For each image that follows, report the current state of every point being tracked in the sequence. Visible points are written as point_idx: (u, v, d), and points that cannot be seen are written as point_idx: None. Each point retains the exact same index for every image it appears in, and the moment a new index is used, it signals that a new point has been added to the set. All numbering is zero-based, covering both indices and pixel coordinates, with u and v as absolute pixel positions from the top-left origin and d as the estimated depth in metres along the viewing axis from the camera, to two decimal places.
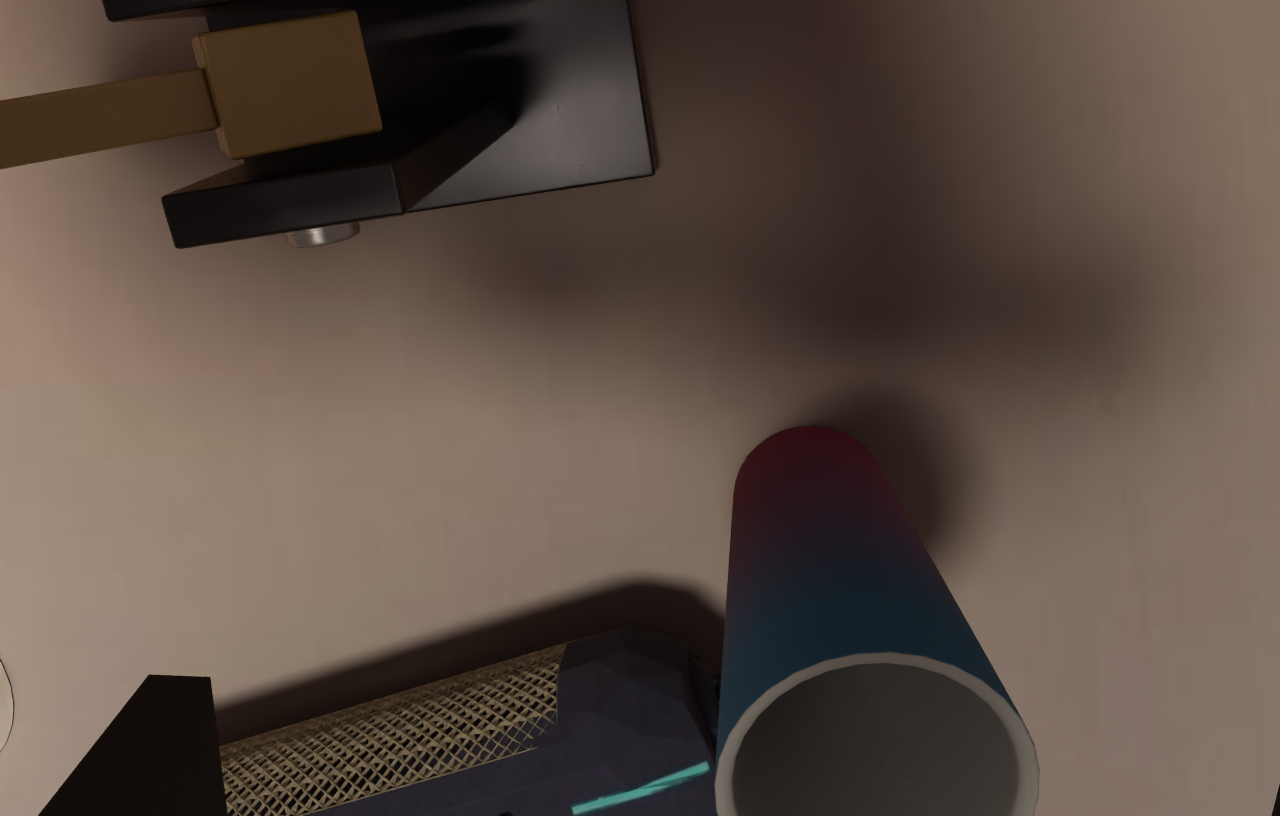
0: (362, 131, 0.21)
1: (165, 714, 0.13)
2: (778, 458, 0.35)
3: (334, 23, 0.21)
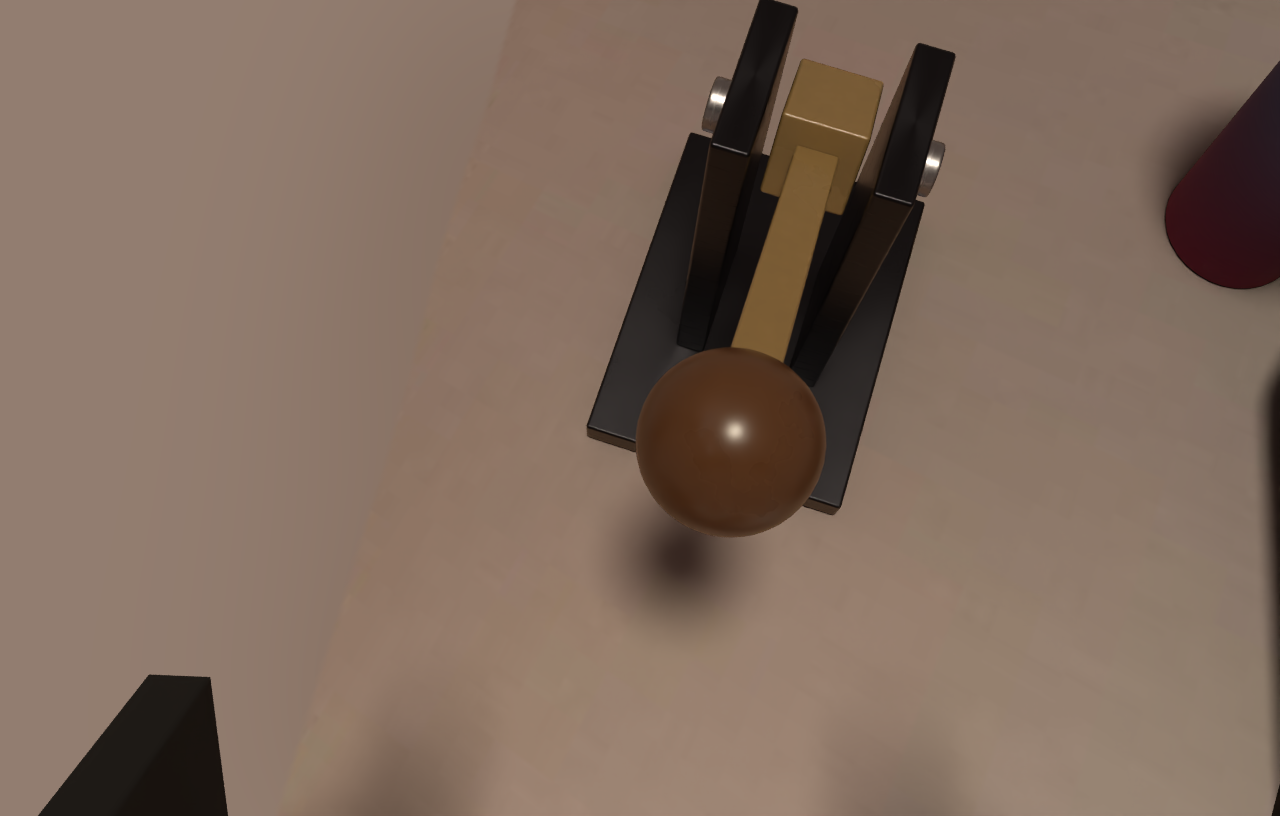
0: (880, 87, 0.29)
1: (165, 715, 0.13)
2: (1192, 199, 0.41)
3: (806, 66, 0.29)
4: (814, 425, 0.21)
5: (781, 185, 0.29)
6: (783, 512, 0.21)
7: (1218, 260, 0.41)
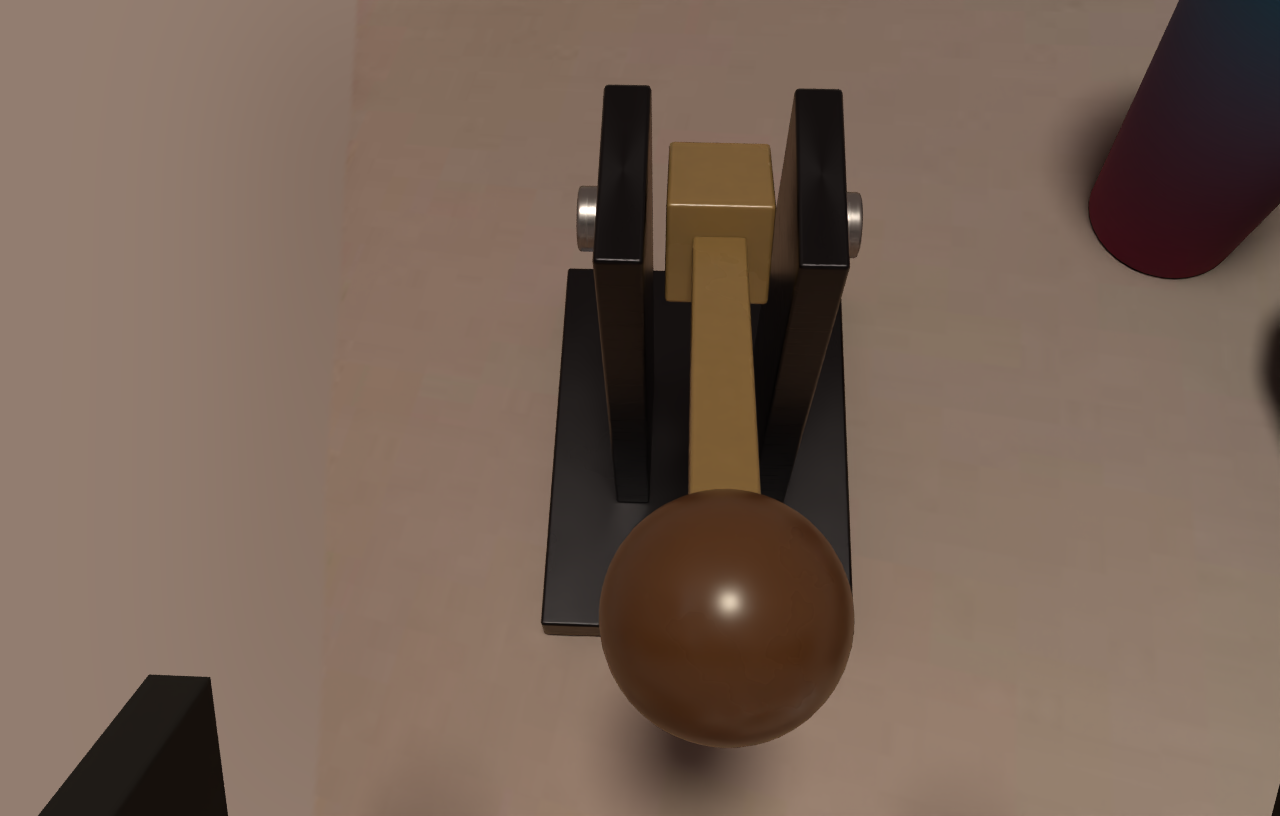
0: (767, 150, 0.25)
1: (166, 715, 0.13)
2: (1116, 197, 0.38)
3: (678, 150, 0.25)
4: (828, 565, 0.16)
5: (688, 288, 0.24)
6: (823, 692, 0.15)
7: (1164, 252, 0.38)
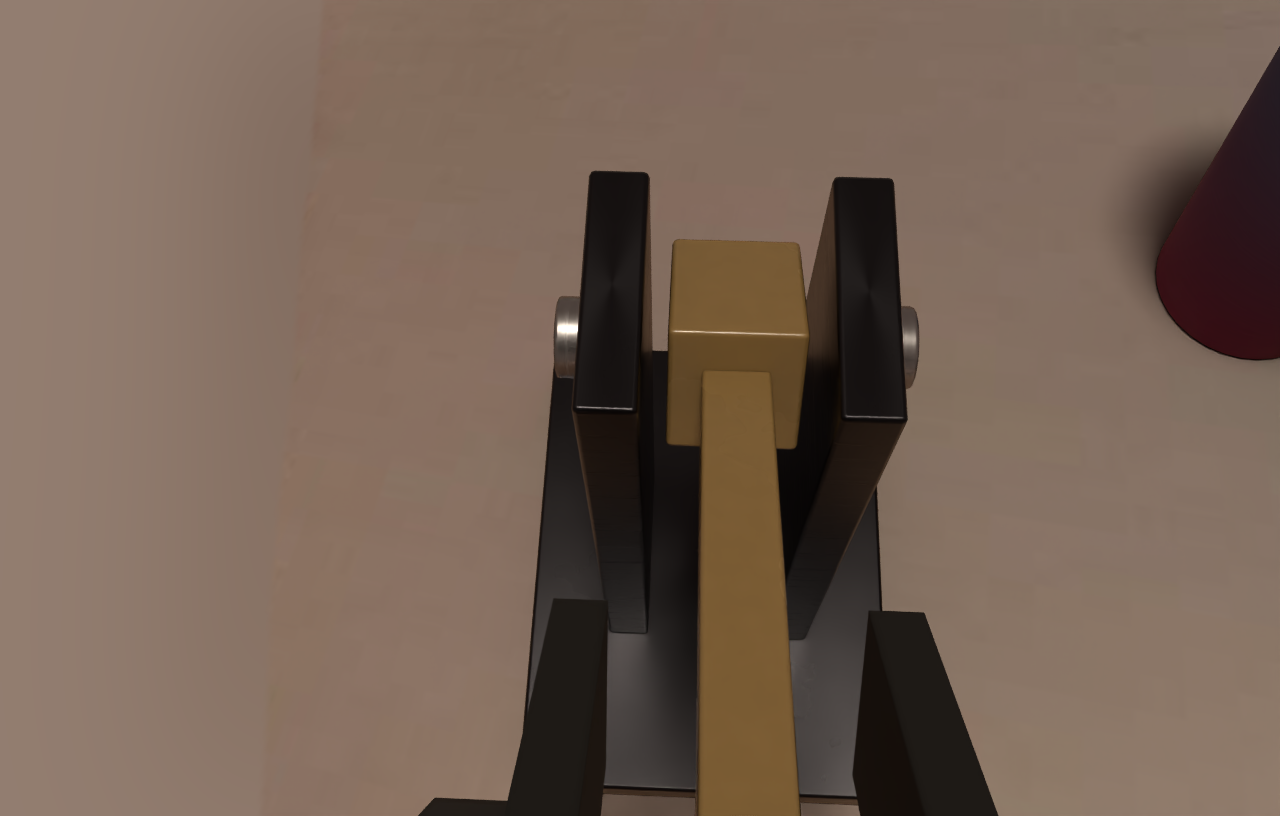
0: (797, 252, 0.20)
1: (588, 629, 0.15)
2: (1193, 268, 0.32)
3: (682, 250, 0.20)
4: None
5: (696, 430, 0.19)
6: None
7: (1248, 332, 0.32)
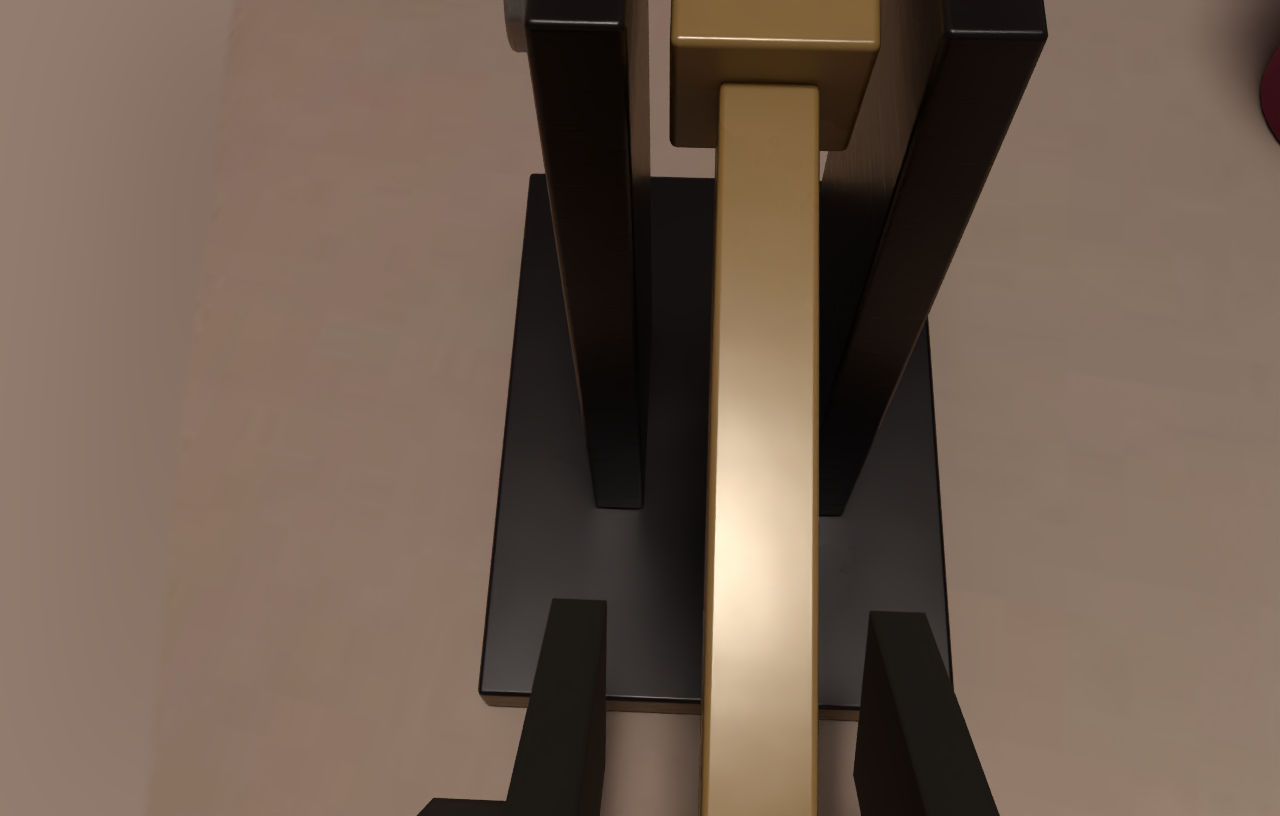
0: None
1: (587, 629, 0.15)
2: None
3: None
4: None
5: (711, 135, 0.14)
6: None
7: None
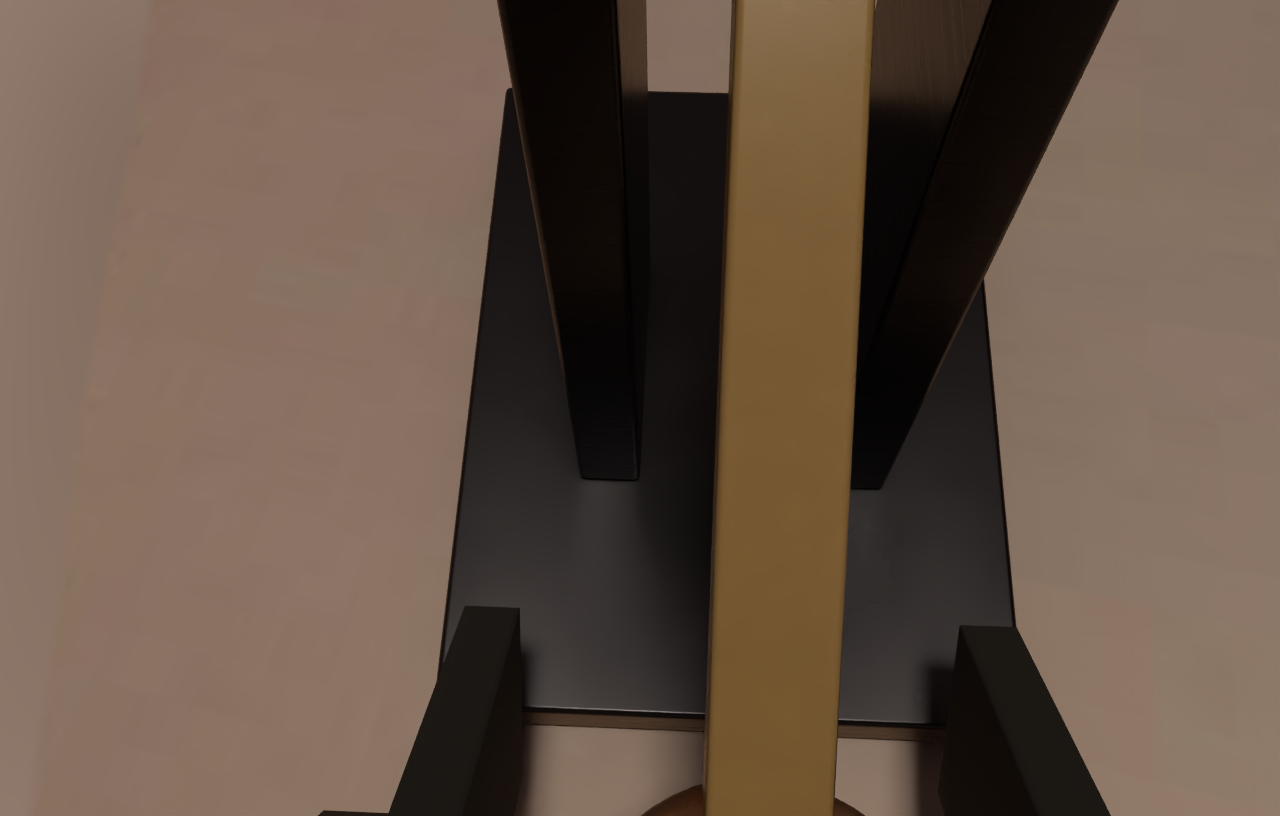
0: None
1: (495, 637, 0.15)
2: None
3: None
4: None
5: None
6: None
7: None
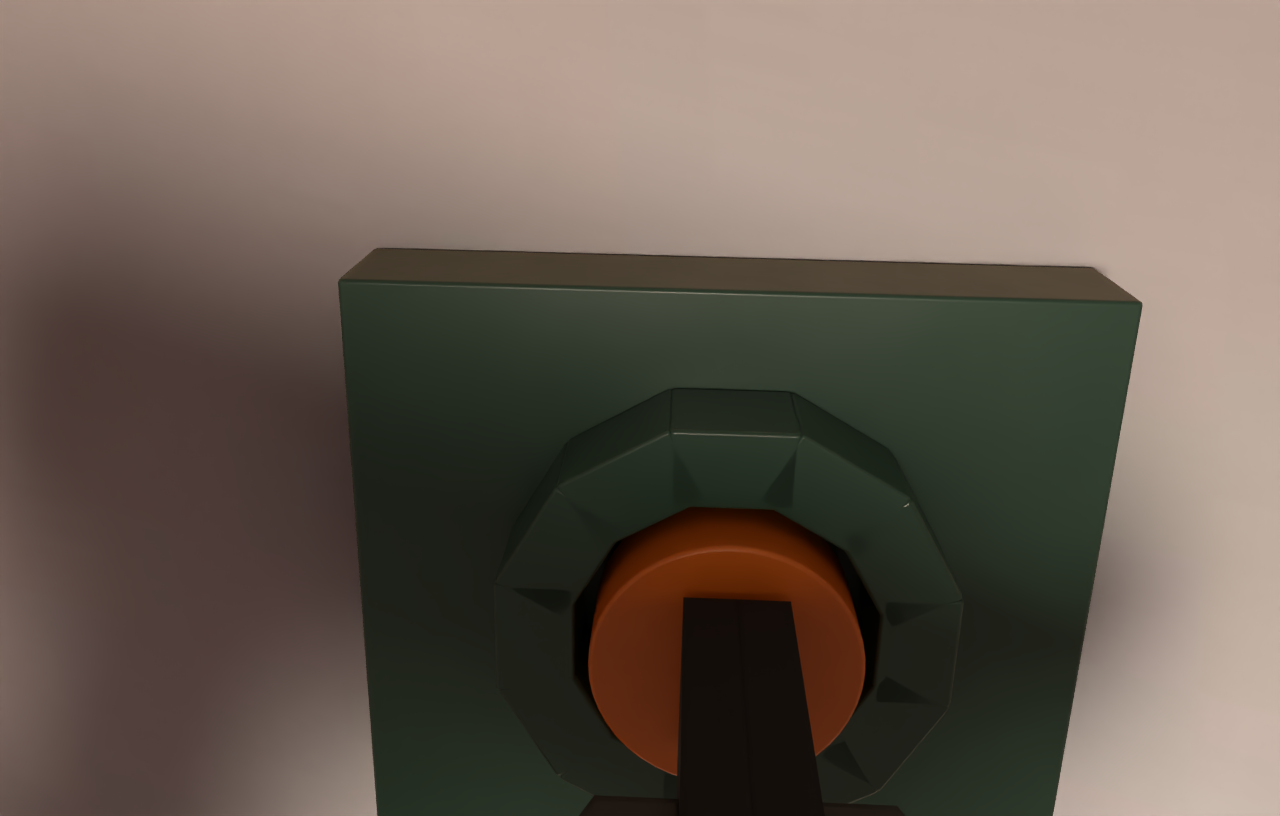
0: None
1: (725, 628, 0.15)
2: None
3: None
4: None
5: None
6: None
7: None
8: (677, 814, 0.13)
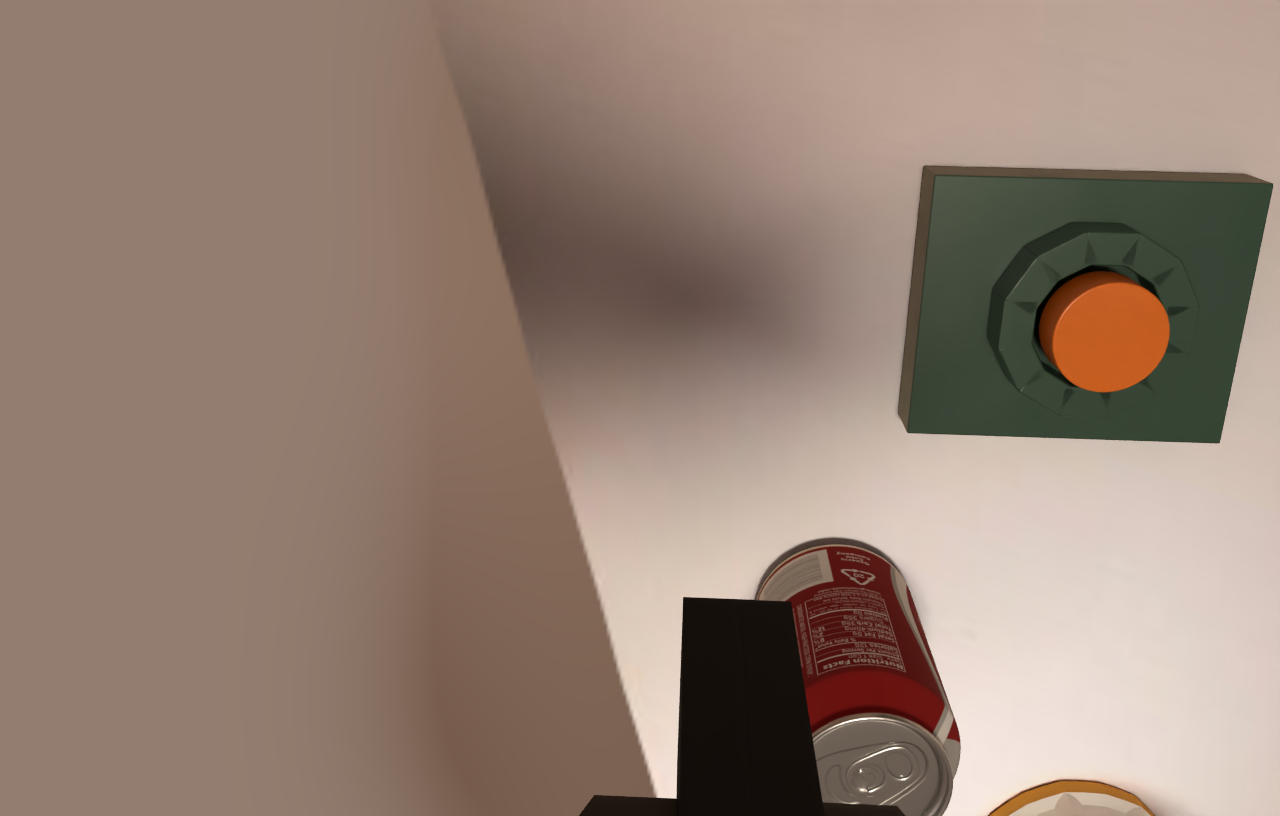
0: None
1: (724, 628, 0.15)
2: None
3: None
4: None
5: None
6: None
7: None
8: (677, 814, 0.13)
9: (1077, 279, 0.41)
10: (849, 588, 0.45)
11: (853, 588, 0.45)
